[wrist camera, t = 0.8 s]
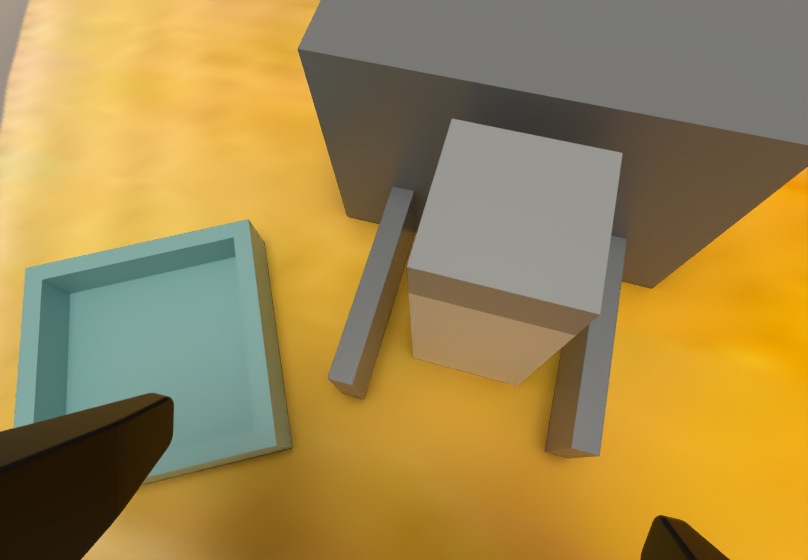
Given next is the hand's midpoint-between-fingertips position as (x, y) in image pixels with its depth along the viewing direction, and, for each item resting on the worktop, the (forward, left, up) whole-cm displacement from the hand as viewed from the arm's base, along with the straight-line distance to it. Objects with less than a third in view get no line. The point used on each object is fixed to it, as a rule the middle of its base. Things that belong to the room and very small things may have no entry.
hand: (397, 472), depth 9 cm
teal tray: (+6, +11, -13) cm, 18 cm away
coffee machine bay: (+10, -5, -13) cm, 17 cm away
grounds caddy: (+7, -4, -13) cm, 15 cm away
